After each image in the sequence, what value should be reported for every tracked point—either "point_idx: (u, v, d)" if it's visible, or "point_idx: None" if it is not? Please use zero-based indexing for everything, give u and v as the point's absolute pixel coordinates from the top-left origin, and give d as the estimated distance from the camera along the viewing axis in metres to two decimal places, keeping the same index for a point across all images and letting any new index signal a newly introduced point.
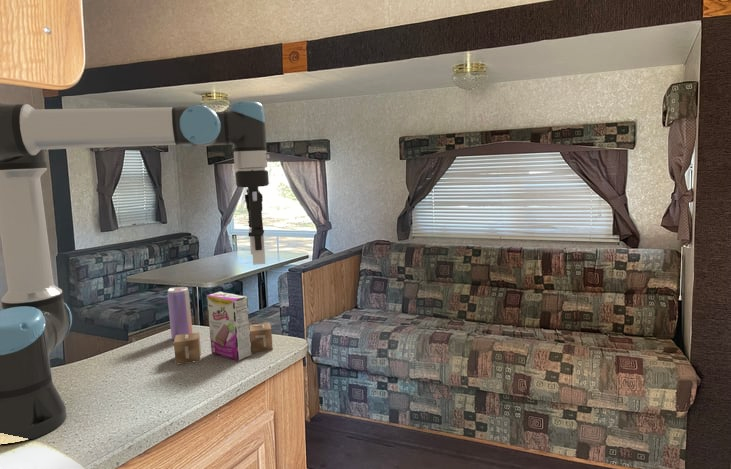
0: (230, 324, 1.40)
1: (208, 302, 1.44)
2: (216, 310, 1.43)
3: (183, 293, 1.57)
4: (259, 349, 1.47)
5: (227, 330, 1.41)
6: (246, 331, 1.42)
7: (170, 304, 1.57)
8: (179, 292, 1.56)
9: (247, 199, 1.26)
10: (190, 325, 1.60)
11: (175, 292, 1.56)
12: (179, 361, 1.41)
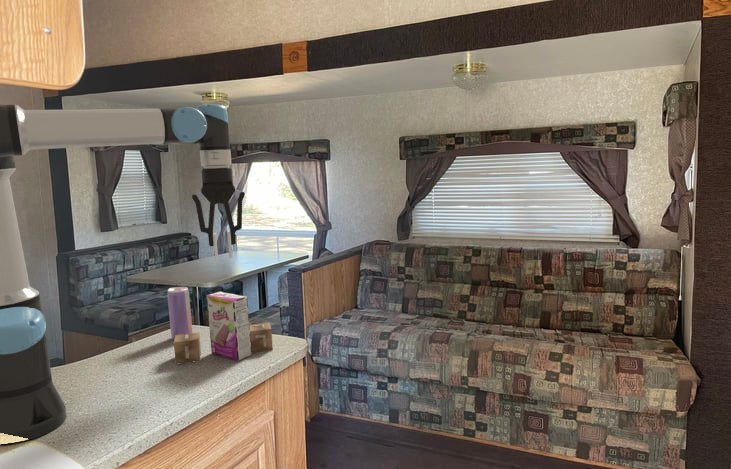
0: (230, 324, 1.40)
1: (208, 302, 1.44)
2: (216, 310, 1.43)
3: (183, 293, 1.57)
4: (259, 349, 1.47)
5: (227, 330, 1.41)
6: (246, 331, 1.42)
7: (170, 304, 1.57)
8: (179, 292, 1.56)
9: None
10: (190, 325, 1.60)
11: (175, 292, 1.56)
12: (179, 361, 1.41)
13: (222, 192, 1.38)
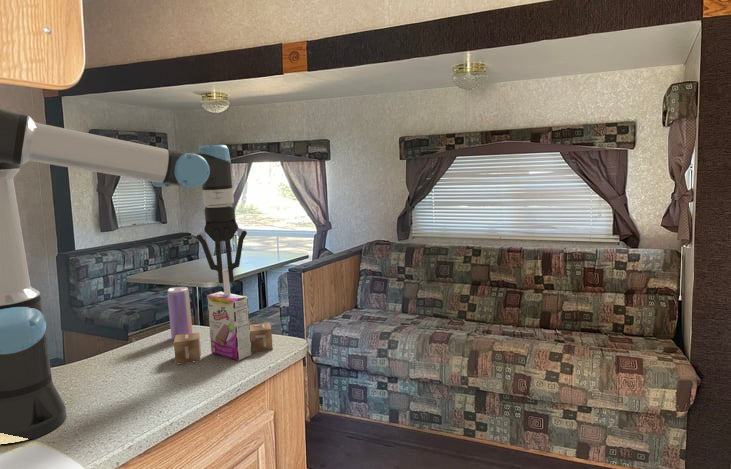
0: (230, 323, 1.40)
1: (208, 302, 1.44)
2: (216, 309, 1.43)
3: (183, 293, 1.57)
4: (259, 349, 1.47)
5: (227, 329, 1.41)
6: (246, 331, 1.42)
7: (170, 304, 1.57)
8: (179, 292, 1.56)
9: None
10: (190, 325, 1.60)
11: (175, 292, 1.56)
12: (179, 361, 1.41)
13: (225, 230, 1.39)
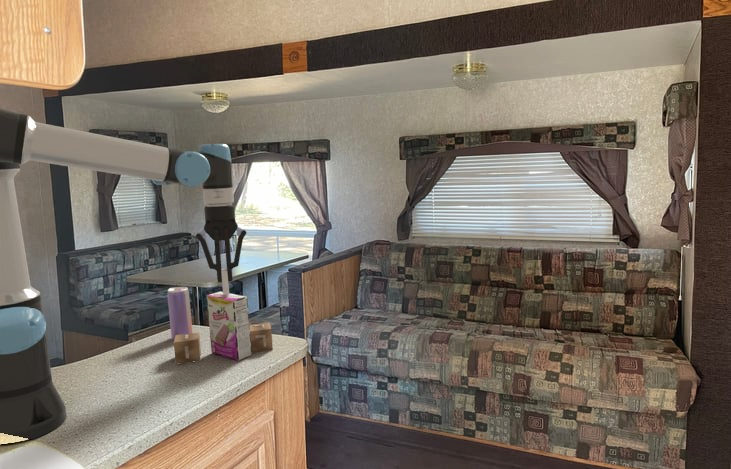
0: (230, 324, 1.40)
1: (208, 302, 1.44)
2: (216, 310, 1.43)
3: (183, 293, 1.57)
4: (259, 349, 1.47)
5: (227, 330, 1.41)
6: (246, 331, 1.42)
7: (170, 304, 1.57)
8: (179, 292, 1.56)
9: None
10: (190, 325, 1.60)
11: (175, 292, 1.56)
12: (179, 361, 1.41)
13: (225, 229, 1.39)
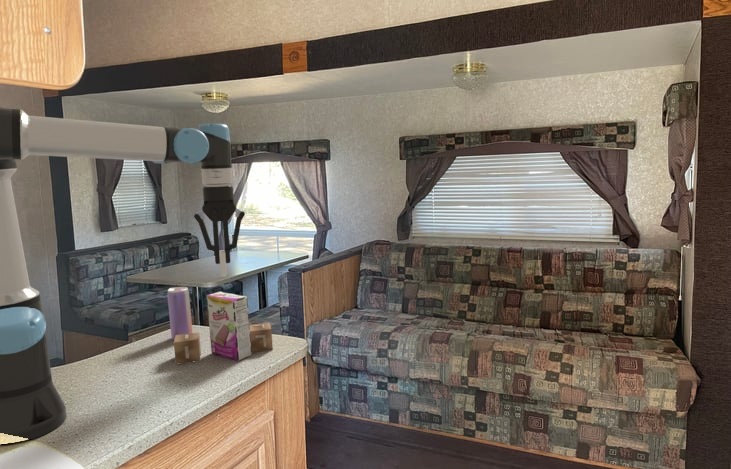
0: (230, 324, 1.40)
1: (208, 302, 1.44)
2: (216, 310, 1.43)
3: (183, 293, 1.57)
4: (259, 349, 1.47)
5: (227, 330, 1.41)
6: (246, 331, 1.42)
7: (170, 304, 1.57)
8: (179, 292, 1.56)
9: None
10: (190, 325, 1.60)
11: (175, 292, 1.56)
12: (179, 361, 1.41)
13: (223, 210, 1.38)
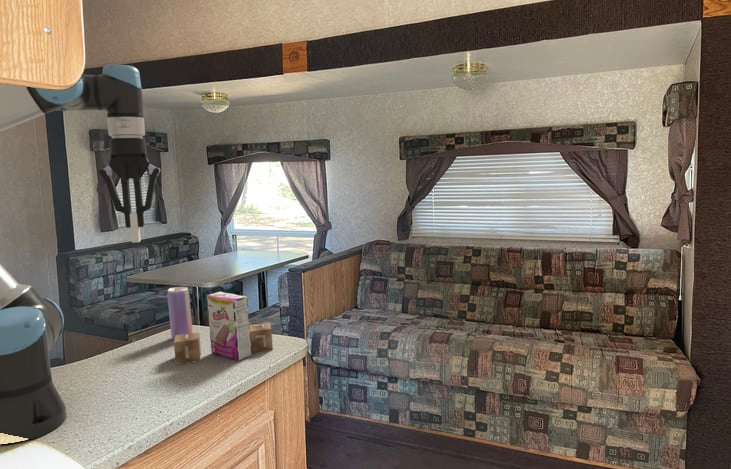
0: (230, 324, 1.40)
1: (208, 302, 1.44)
2: (216, 310, 1.43)
3: (183, 293, 1.57)
4: (259, 349, 1.47)
5: (227, 330, 1.41)
6: (246, 331, 1.42)
7: (170, 304, 1.57)
8: (179, 292, 1.56)
9: None
10: (190, 325, 1.60)
11: (175, 292, 1.56)
12: (179, 361, 1.41)
13: (133, 166, 1.21)
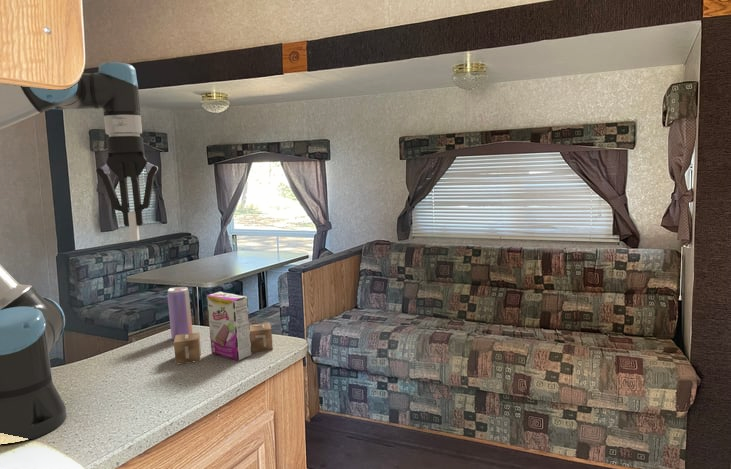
0: (230, 324, 1.40)
1: (208, 302, 1.44)
2: (216, 310, 1.43)
3: (183, 293, 1.57)
4: (259, 349, 1.47)
5: (227, 330, 1.41)
6: (246, 331, 1.42)
7: (170, 304, 1.57)
8: (179, 292, 1.56)
9: None
10: (190, 325, 1.60)
11: (175, 292, 1.56)
12: (179, 361, 1.41)
13: (130, 164, 1.20)
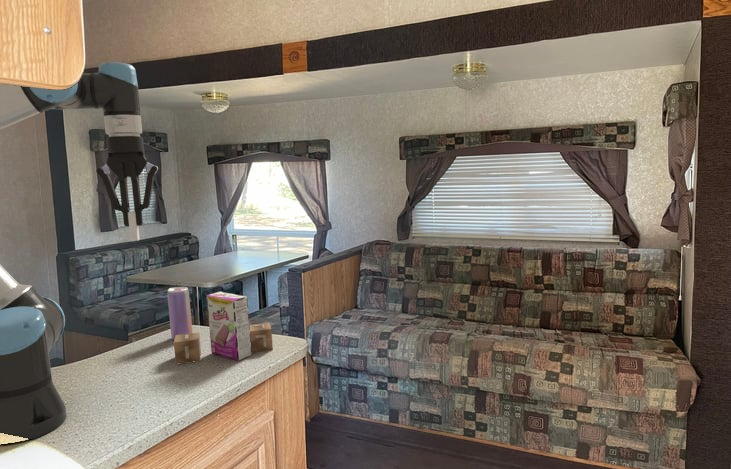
0: (230, 324, 1.40)
1: (208, 302, 1.44)
2: (216, 310, 1.43)
3: (183, 293, 1.57)
4: (259, 349, 1.47)
5: (227, 330, 1.41)
6: (246, 331, 1.42)
7: (170, 304, 1.57)
8: (179, 292, 1.56)
9: None
10: (190, 325, 1.60)
11: (175, 292, 1.56)
12: (179, 361, 1.41)
13: (130, 164, 1.20)
